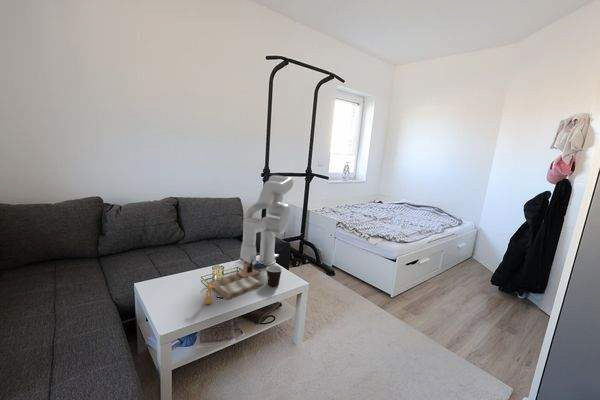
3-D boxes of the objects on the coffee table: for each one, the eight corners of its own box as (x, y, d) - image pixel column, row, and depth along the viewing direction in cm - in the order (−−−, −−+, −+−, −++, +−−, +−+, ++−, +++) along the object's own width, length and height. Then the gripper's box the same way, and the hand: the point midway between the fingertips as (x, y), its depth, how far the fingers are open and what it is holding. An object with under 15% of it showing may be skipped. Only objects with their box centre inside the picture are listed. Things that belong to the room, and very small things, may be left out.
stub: (250, 269, 173) (251, 258, 171) (257, 273, 168) (258, 262, 167) (237, 273, 165) (237, 262, 164) (244, 278, 161) (244, 267, 159)
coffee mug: (279, 289, 156) (281, 272, 154) (264, 287, 156) (265, 271, 154) (281, 279, 167) (282, 263, 165) (267, 277, 167) (268, 262, 165)
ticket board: (244, 273, 170) (244, 269, 170) (263, 285, 158) (263, 281, 158) (208, 285, 153) (208, 281, 152) (226, 300, 141) (226, 295, 140)
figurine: (215, 299, 140) (216, 278, 138) (218, 306, 135) (219, 283, 133) (198, 303, 136) (198, 280, 134) (200, 309, 131) (200, 286, 129)
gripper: (235, 239, 165) (234, 267, 169) (252, 247, 155) (251, 277, 158) (246, 236, 171) (244, 264, 174) (263, 244, 160) (261, 274, 164)
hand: (247, 270), depth 166 cm, fingers closed on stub, 3 cm apart
